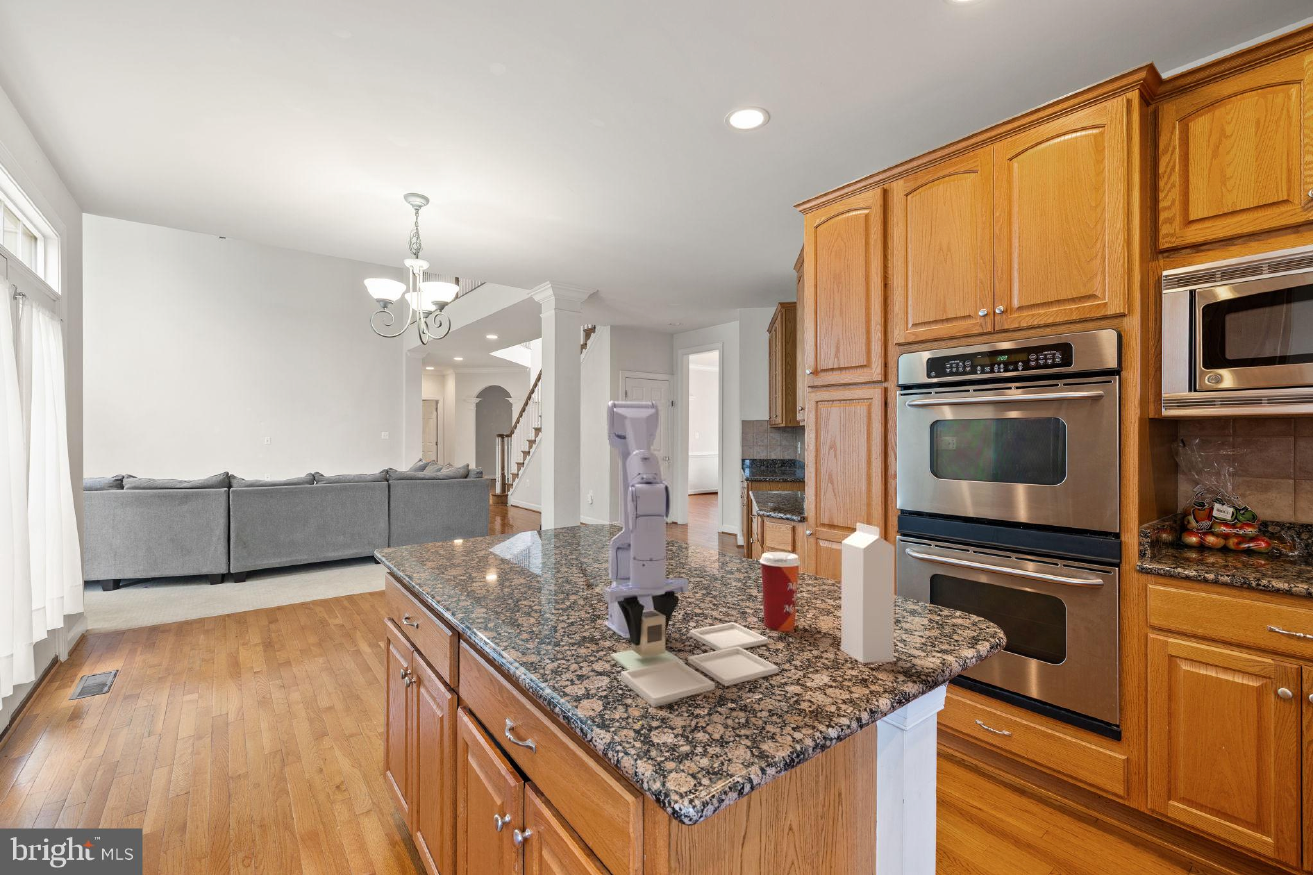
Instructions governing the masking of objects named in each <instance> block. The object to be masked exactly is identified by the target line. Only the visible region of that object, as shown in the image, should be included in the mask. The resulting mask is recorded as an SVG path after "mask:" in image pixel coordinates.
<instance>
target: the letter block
mask: <svg viewBox="0 0 1313 875" xmlns="http://www.w3.org/2000/svg"><path fill="white" fill-rule="evenodd" d="M631 650H633V651H634V652H636V653H637V654H639V655H640V656H641V657H643V658H645V657H650V656H654V655H659V654H664V653H665V650H666V635H665V615H663V614H661V613H659V612H657V611H655V610H654V609H652V610H646V611H643V614H642V620H641V639H640V645H637V646H636V645H634V644H633V643H631Z"/></svg>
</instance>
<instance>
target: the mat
mask: <svg viewBox="0 0 1313 875" xmlns="http://www.w3.org/2000/svg"><path fill="white" fill-rule="evenodd" d="M609 655H610V656H609V657H610V658H612V659H613V660H614V661H615V662H617V663H618V664H619V665H620V666H622V667H623V668H624V669H625V670H626V671H627V670H631V669H636V668H641V667H645V666H650V665H654V664H659V663H664V662H668V661H673V660H677V659H678V660H679V661H681V662H683V663H684V664H686V662H685V661H684V660H682V659H680V658H679V657H678V656H676V655H675V654H673V653H671V652H670V651H668V650H666V649H665V653H664V654H659V655H654V656H650V657H645V658H643V657H641V656H640V655H639V654H637V653H636V652H634V651H633V650H632V649H630V650H629V649H628V650H624V651H620V652H619V651H618V652H615V653H611V654H609Z"/></svg>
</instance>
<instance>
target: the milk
mask: <svg viewBox="0 0 1313 875" xmlns="http://www.w3.org/2000/svg"><path fill="white" fill-rule="evenodd" d="M855 527H856V531H855V532H853V533H852V534H850V535H849V536H848V537H846V538H845V539H843V540H842V541H841V608H840V612H841V613H840V614H841V616H840V617H841V618H840V619H841V621H840V622H841V624H840V625H841V628H840V630H841V634H840V635H841V636H840V640H841V642H840V651H842V652H844V653H845V654H847V655H849V656H850V657H852V658H853V659H855V660H857V661H858V662H860V663H861V664H867V663H870V664H871V665H877V664H885V663H893V662H894V658H895V655H894V652H895V651H894V650H895V646H894V645H895V638H894V637H895V546H894V545H893V544H891V543H889V542H888V541H886V539H883V538H882V537H881V536H880V533H881V532H880V531H881V530H880V527H878V526H875V525H868V524H865V523H861V522H856V526H855Z"/></svg>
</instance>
